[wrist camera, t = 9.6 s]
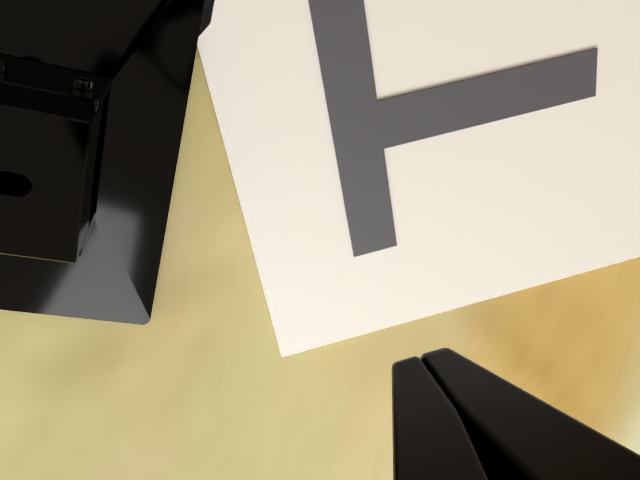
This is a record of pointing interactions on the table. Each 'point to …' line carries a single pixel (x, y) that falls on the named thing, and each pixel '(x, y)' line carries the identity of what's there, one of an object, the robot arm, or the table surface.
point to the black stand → (90, 149)
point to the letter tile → (425, 150)
